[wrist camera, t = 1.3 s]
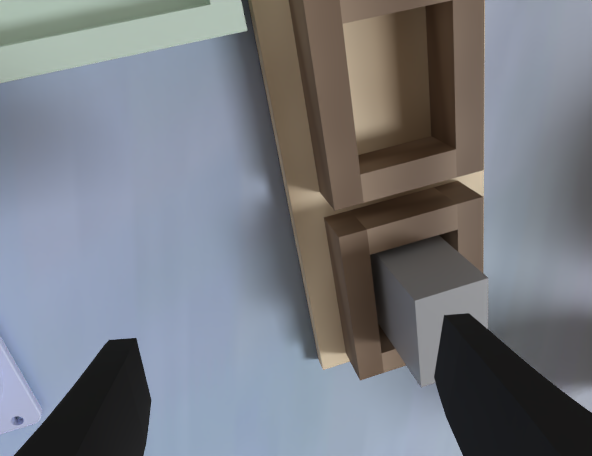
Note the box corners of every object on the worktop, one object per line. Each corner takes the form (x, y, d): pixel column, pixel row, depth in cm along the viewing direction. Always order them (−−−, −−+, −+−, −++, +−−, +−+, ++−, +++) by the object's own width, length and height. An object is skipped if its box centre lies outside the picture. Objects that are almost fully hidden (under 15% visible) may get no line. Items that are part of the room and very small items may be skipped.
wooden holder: (318, 359, 26) (335, 397, 24) (243, -21, 18) (258, -22, 15) (474, 310, 27) (506, 341, 25) (473, -66, 19) (519, -74, 17)
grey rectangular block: (373, 317, 25) (421, 387, 20) (364, 240, 23) (414, 300, 18) (429, 299, 25) (487, 365, 21) (425, 223, 23) (488, 278, 19)
